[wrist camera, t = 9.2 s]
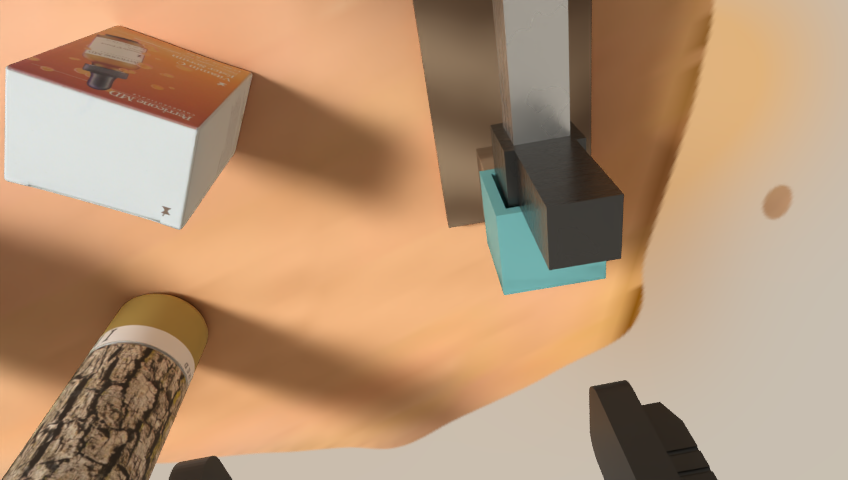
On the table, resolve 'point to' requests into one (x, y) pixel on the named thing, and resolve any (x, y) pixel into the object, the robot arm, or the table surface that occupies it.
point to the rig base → (482, 91)
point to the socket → (522, 247)
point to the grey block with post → (549, 141)
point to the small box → (123, 123)
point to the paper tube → (120, 397)
